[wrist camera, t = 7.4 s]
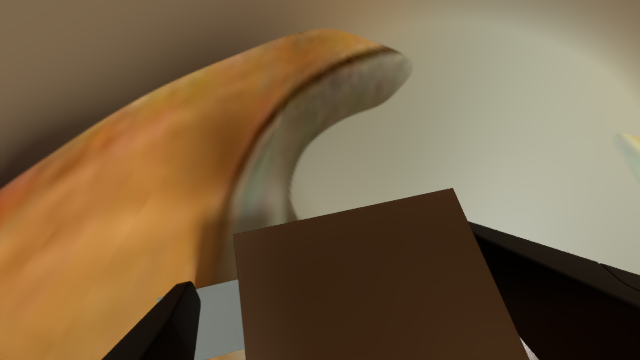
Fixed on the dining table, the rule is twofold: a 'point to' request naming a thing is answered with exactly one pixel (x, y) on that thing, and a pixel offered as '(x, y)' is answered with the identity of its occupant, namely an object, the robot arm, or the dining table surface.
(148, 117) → the dining table surface
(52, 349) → the dining table surface
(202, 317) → the notched rail
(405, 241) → the walnut post
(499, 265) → the robot arm
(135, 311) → the dining table surface
